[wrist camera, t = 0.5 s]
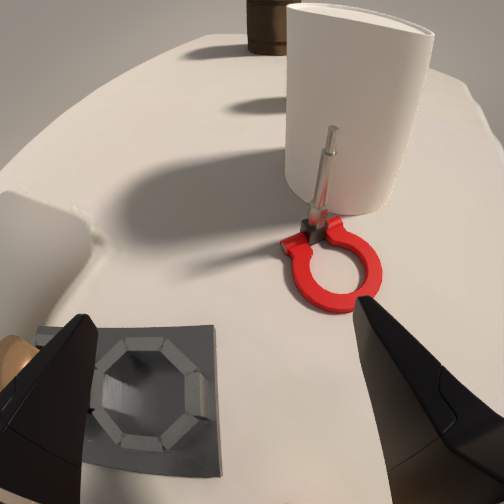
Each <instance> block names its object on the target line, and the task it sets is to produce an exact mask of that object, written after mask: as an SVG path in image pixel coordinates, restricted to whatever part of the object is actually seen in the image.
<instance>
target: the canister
mask: <svg viewBox="0 0 504 504" xmlns="http://www.w3.org/2000/svg"><path fill="white" fill-rule="evenodd" d="M286 10H287V94H286V144H285V178H286V181H287V183H288V185H289V187H290V188H291V190H292V191H293V192H294V193H295V194H296V195H297V196H298V197H299V198H301V199H302V200H303V201H305V202H307V203H308V204H310V202H311V200H312V199H313V198H314V193H315V187H316V181H317V175H318V169H319V163H320V157H321V151H322V149H323V148H325V144H326V138H327V131H328V127H329V126H331V125H334V126H337V127H338V128H339V133H338V139H337V144H336V149H335V150H336V151H337V159H336V164H335V168H334V173H333V178H332V182H331V187H330V191H329V196H328V200H327V203H328V211H327V212H330V213H335V214H340V215H363V214H367V213H371V212H374V211H376V210H378V209H380V208H381V207H383V206H384V205H385V204H386V203H387V201H388V200H389V198H390V196H391V193H392V191H393V188H394V185H395V182H396V179H397V177H398V174H399V171H400V168H401V165H402V162H403V159H404V156H405V153H406V149H407V146H408V143H409V140H410V137H411V133H412V130H413V126H414V123H415V119H416V116H417V112H418V108H419V105H420V101H421V97H422V93H423V89H424V85H425V81H426V76H427V72H428V67H429V62H430V58H431V53H432V47H433V42H434V36H435V34H434V33H433V32H431V31H430V30H428V29H426V28H424V27H422V26H419V25H417V24H415V23H412V22H409V21H407V20H404V19H401V18H398V17H394V16H391V15H387V14H384V13H380V12H376V11H372V10H367V9H362V8H357V7H351V6H344V5H335V4H324V3H294V4H288V5H287V6H286Z"/></svg>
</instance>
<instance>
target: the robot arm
mask: <svg viewBox="0 0 504 504" xmlns="http://www.w3.org/2000/svg"><path fill="white" fill-rule="evenodd" d="M353 323H354V329H355V334H356V340H357V346H358V352H359V358H360V363H361V367H362V371H363V374H364V378H365V382H366V385H367V389H368V393H369V396H370V400H371V404H372V408H373V412H374V416H375V420H376V424H377V428H378V433H379V437H380V441H381V446H382V450H383V455H384V459H385V464H386V469H387V472H388V473H387V475H388V480H389V485H390V491H391V496H392V502H393V504H504V418H503V417H501V416H500V415H498V414H497V413H496V412H494V411H493V410H492V409H491V408H490V407H488V406H487V405H486V404H485V403H484V402H482V401H481V400H480V399H479V398H478V397H477V396H475V395H474V394H473V393H472V392H471V391H469V390H468V389H467V388H466V387H465V386H464V385H463V384H461V383H460V382H459V381H458V380H457V379H456V378H455V377H454V376H453V375H452V374H451V373H450V372H449V371H448V370H447V369H446V368H445V367H444V366H443V365H442V366H441V363H440V362H439V361H438V360H437V359H436V358H435V357H434V356H433V355H432V354H431V353H430V352H429V351H428V350H427V349H426V348H425V347H424V346H423V345H422V344H421V343H420V342H419V341H418V340H417V339H416V338H415V337H414V336H413V335H411V334H410V333H409V332H408V331H407V330H406V329H405V328H404V327H403V326H402V325H401V324H400V323H399V322H398V321H397V320H396V319H395V318H394V317H393V316H392V315H390V314H389V313H388V312H387V311H386V310H385V309H384V308H383V307H382V306H381V305H380V304H379V303H378V302H377V301H375V300H374V299H373V298H372V297H371V296H369V295H364V296H358V297H357V298H356V301H355V306H354V311H353ZM97 342H98V329H97V327H96V326H95V324H94V323H93V321H92V320H91V318H90V317H89V315H87V314H77V315H76V316H75V317H74V318H72V319H71V320H70V321H69V322H68V323H67V324H66V325H65V326H64V327H63V328H62V329H61V330H60V331H59V332H58V333H57V334H56V335H55V336H54V337H53V338H52V339H51V340H50V341H49V342H48V343H47V344H46V345H45V346H44V347H43V348H42V349H41V350H40V351H39V352H38V353H37V354H36V355H35V356H34V357H33V358H32V359H31V360H30V361H29V362H28V363H27V364H26V365H25V366H24V367H23V368H22V370H21V371H20V372H19V373H18V374H17V376H15V377H14V378H13V379H12V380H11V381H10V382H9V383H8V385H7V386H6V387H5V388H4V389H3V390H2V391H1V392H0V504H80V486H81V466H82V454H83V443H84V434H85V426H86V419H87V411H88V405H89V399H90V393H91V387H92V381H93V376H94V369H95V359H96V350H97Z"/></svg>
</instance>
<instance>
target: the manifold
mask: <svg viewBox="0 0 504 504" xmlns="http://www.w3.org/2000/svg"><path fill="white" fill-rule="evenodd" d="M62 328H63V327H48V326H38V328H37V333H36V336H33V337H32V338H31V339H30V340H29V341H28V342H26V341H24V340H23V339H21V338H20V337H18V336H15V335H10V336H7V337H5V338H4V339H2V340H1V341H0V392H1V391H2V390H3V389H4V388H5V387H6V386H7V385H8V383H9V382H10V381H11V380H12V379H13V378H14V377H15V376H17V374H18V373H19V372H20V371H21V370H22V368H23V367H24V366H25V365H26V364H27V363H28V362H29V361H30V360H31V359H32V358H33V357H34V356H35V355H36V354H37V353H38V352H39V351H40V350H41V349H42V348H43V347H44V346H45V345H46V344H47V343H48V342H49V341H50V340H51V339H52V338H53V337H54V336H55V335H56V334H57V333H58V332H59V331H60V330H61V329H62ZM97 329H98V342H97V350H96V359H95V369H94V376H93V381H92V387H91V393H90V399H89V405H88V411H87V419H86V426H85V434H84V443H83V454H82V461H84V462H89V463H93V464H97V465H102V466H107V467H112V468H118V469H123V470H129V471H136V472H143V473H151V474H161V475H172V476H186V477H221V476H223V472H222V458H221V443H220V427H219V408H218V387H217V361H216V330H215V328H214V325H200V326H180V327H149V328H97Z"/></svg>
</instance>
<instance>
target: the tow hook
mask: <svg viewBox="0 0 504 504" xmlns="http://www.w3.org/2000/svg"><path fill="white" fill-rule="evenodd" d="M338 133H339V128H338V127H337V126H334V125H331V126H329V127H328V131H327V138H326V144H325V148H323V149H322V151H321V157H320V163H319V169H318V175H317V181H316V187H315V193H314V198H313V199H312V200H311V202H310V207H309V213H308V218H307V219H305V220H302V222H301V229H300V233H298V234H295V235H293V236H291V237H289V238H287V239H284V240H282V241H280V246H281V249H282V251H283V252H284V254H286V255H287V254H289V255H290V257H291V258H292V260H293V264H292V271H293V278H294V281H295V283H296V286H297V288H298V289H299V291H300V292H301V294H302V295H303V296H304V297H305V298H306V299H307V300H308V301H309V302H311V303H312V304H313V305H315V306H317V307H319V308H321V309H323V310H325V311H330V312H335V313H347V312H352V311H354V306H355V301H356V298H357V297H358V296H364V295H369V296H371V297H372V298H374V296H375V295H376V294H377V292H378V291H379V288H380V285H381V282H382V267H381V263H380V260H379V258H378V256H377V254H376V252H375V251H374V249H373V248H372V247H371V246H370V245H369V244H368V243H367V242H366V241H364V240H363V239H362V238H360V237H359V236H357V235H355V234H352V233H350V232H347V231H346V229H345V228H344V227H343V222H342V220H341V218H340V217H338V216H335V217H333V218H331V219H329V220H327V221H326V220H325V219H326V215H327V211H328V203H327V200H328V196H329V191H330V187H331V182H332V178H333V173H334V168H335V164H336V159H337V151H336V150H335V149H336V144H337V139H338ZM325 237H326V238H327V240H328V241H329V242H330V244H331V245H334V246H341V247H345V248H347V249H350V250H351V251H353V252H354V253H355V254H357V255H358V257H359V258H360V259H361V260H362V262H363V264H364V267H365V272H366V276H365V281H364V284H363V285H362V286H361V288H359V289H358V290H356V291H355V292H352V293H349V294H336V293H331V292H329V291H327V290H325V289H323V288H322V287H321V286H319V285H318V284H317V283H316V281H315V280H314V279H313V277H312V274H311V272H310V266H309V263H310V259H311V258H312V255H313V250H312V249H311V247H310V245H312V244H314V243H316V242H318V241H320V240H322V239H324V238H325Z"/></svg>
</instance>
